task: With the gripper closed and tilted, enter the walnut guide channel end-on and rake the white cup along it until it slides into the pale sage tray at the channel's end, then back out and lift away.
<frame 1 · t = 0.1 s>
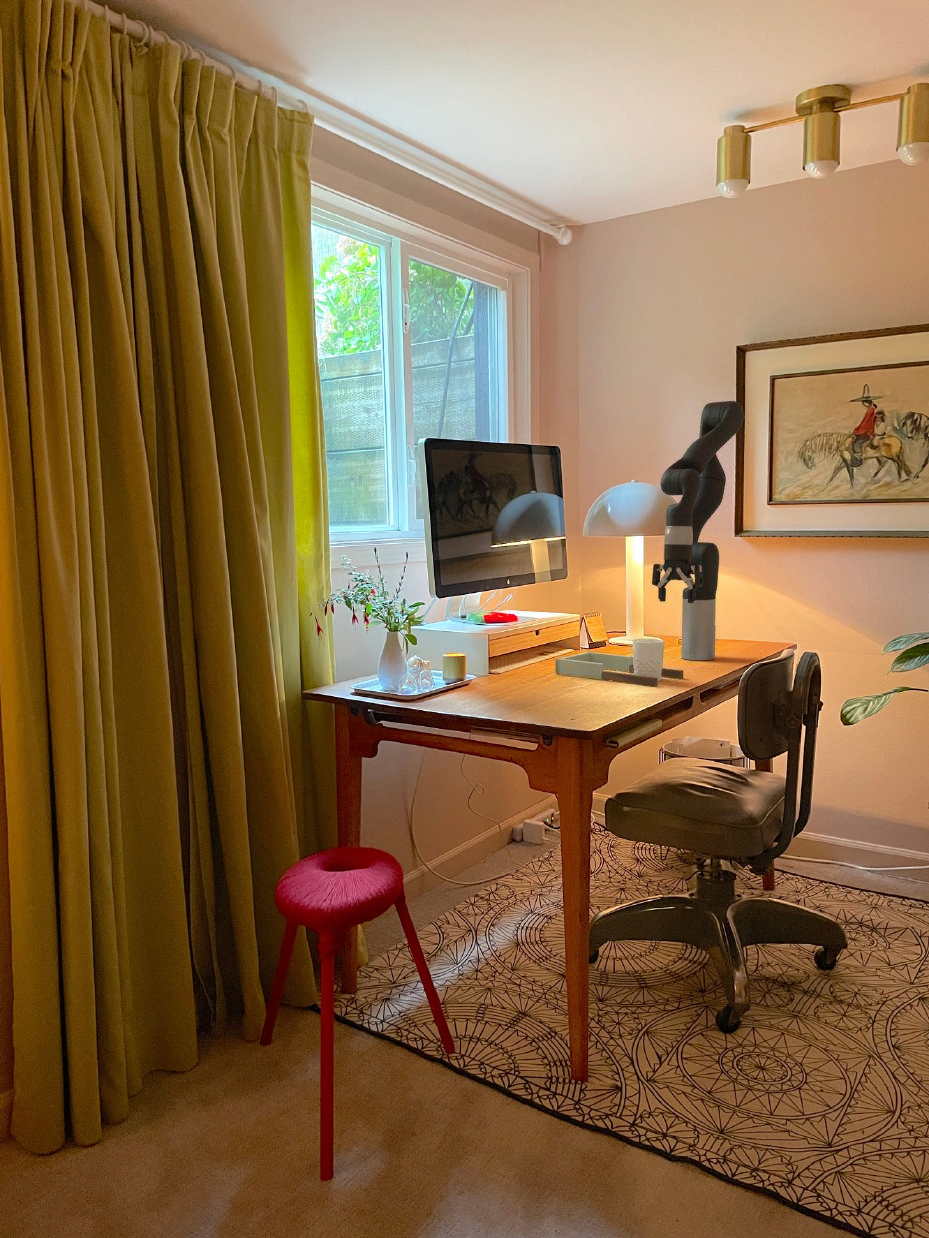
hand: (676, 602, 258), 17 cm above the table, tool pointing down, fingers open, 8 cm apart
white cup: (647, 680, 238), on the table
channel: (642, 678, 239), on the table
tray: (596, 673, 248), on the table
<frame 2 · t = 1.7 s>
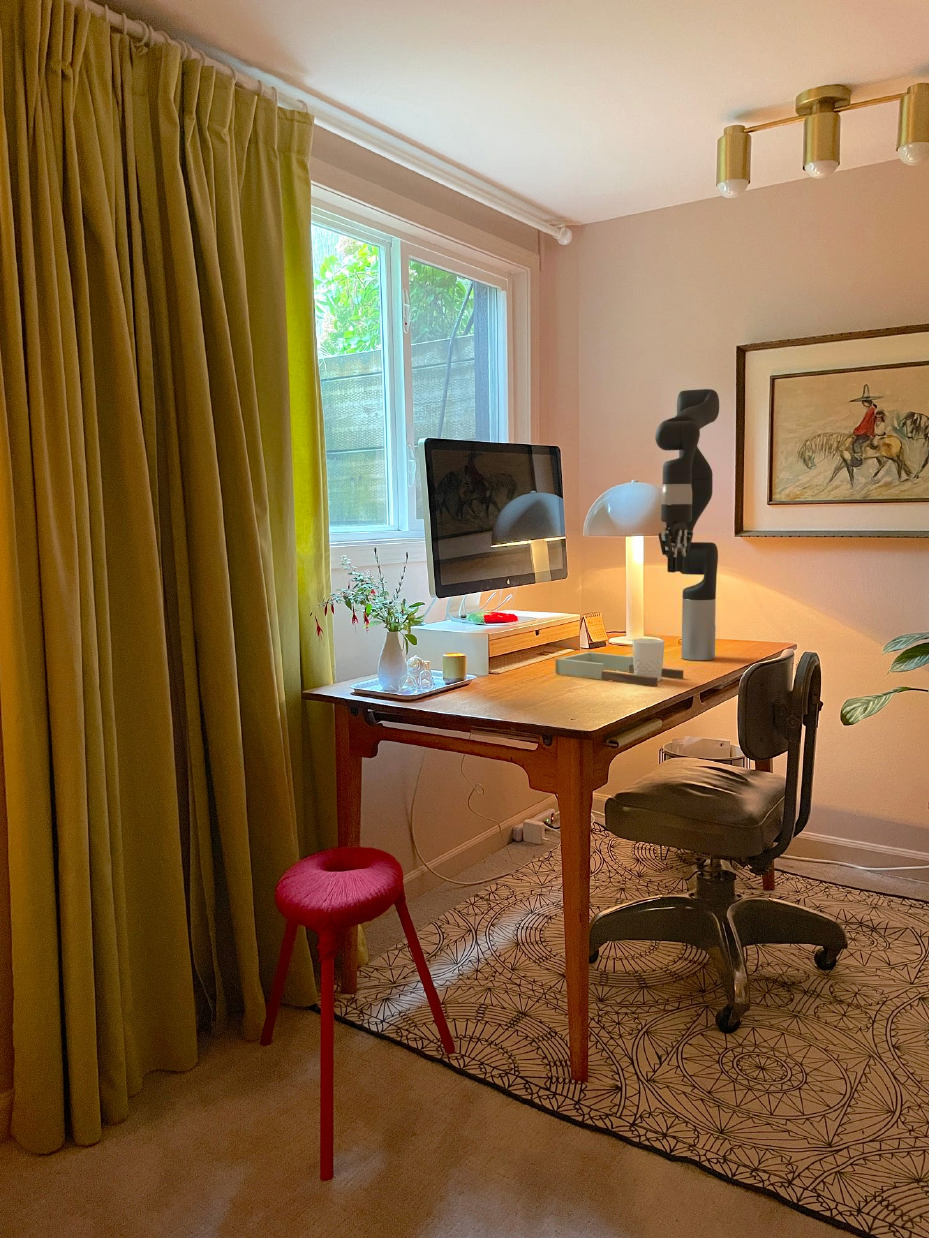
hand: (675, 571, 236), 27 cm above the table, tool pointing down, fingers open, 3 cm apart
nothing on the table moved.
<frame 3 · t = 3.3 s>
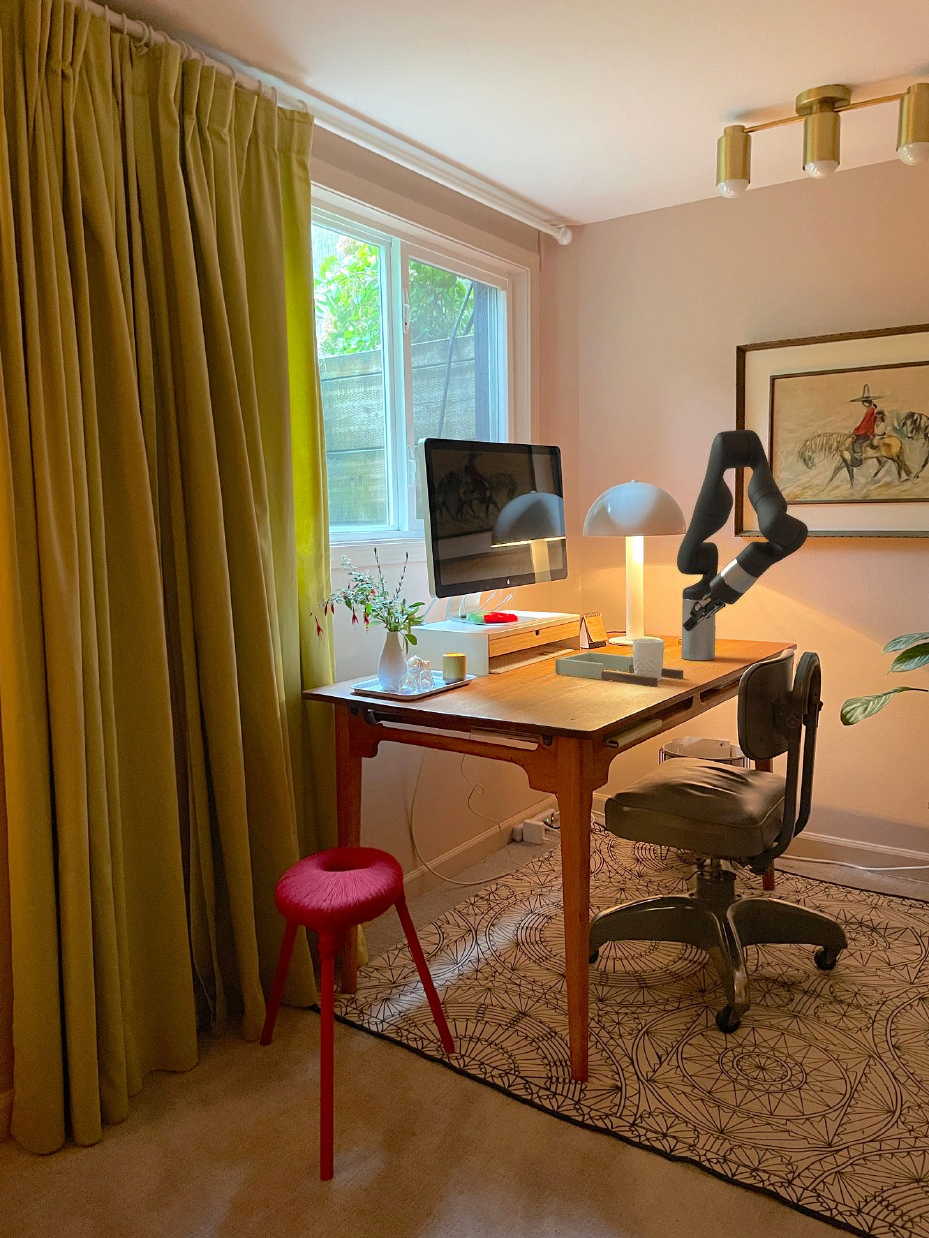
hand: (686, 628, 229), 14 cm above the table, tool tilted 45°, fingers closed
nothing on the table moved.
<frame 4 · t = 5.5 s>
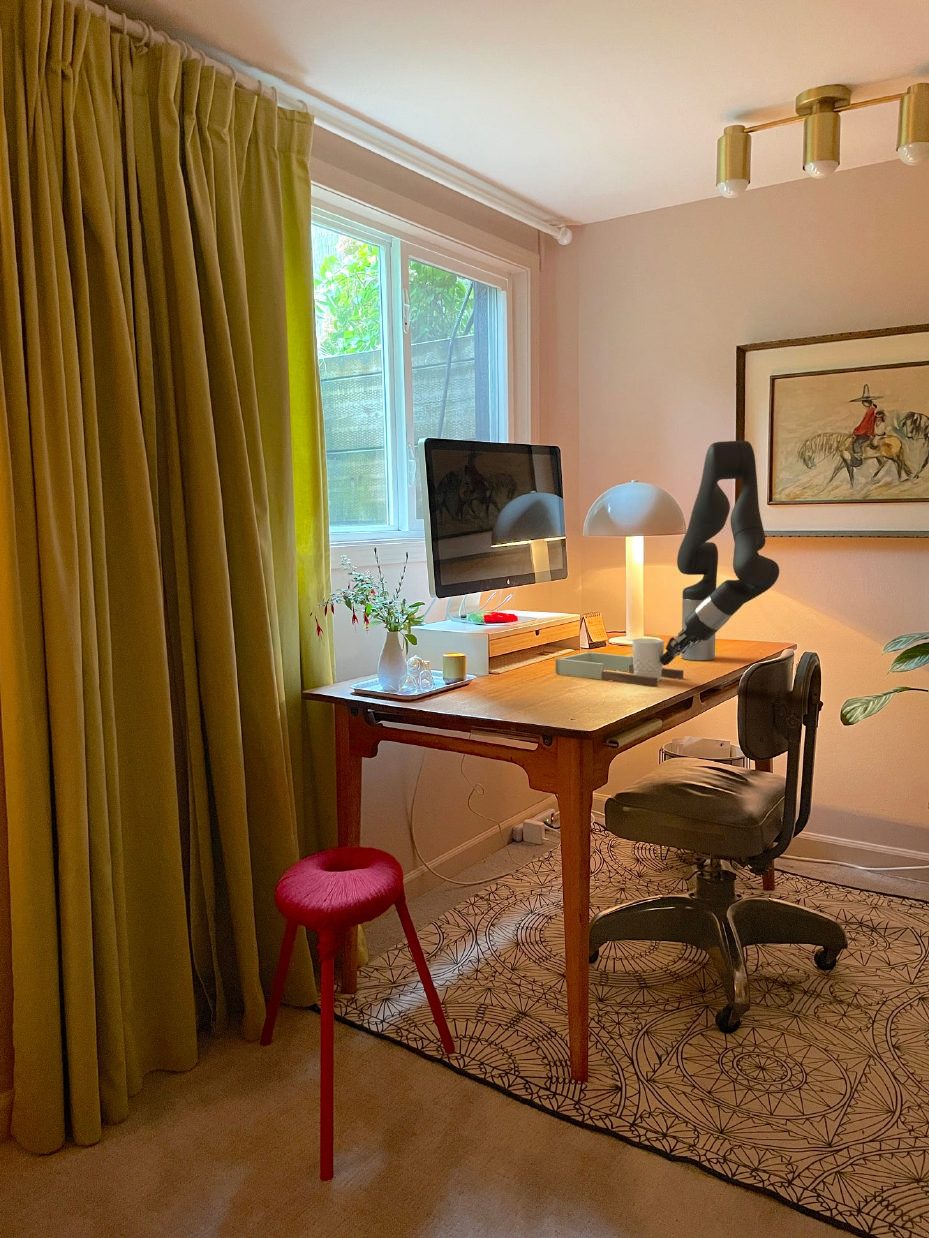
hand: (662, 662, 235), 5 cm above the table, tool tilted 45°, fingers closed
white cup: (647, 680, 238), on the table, touching gripper
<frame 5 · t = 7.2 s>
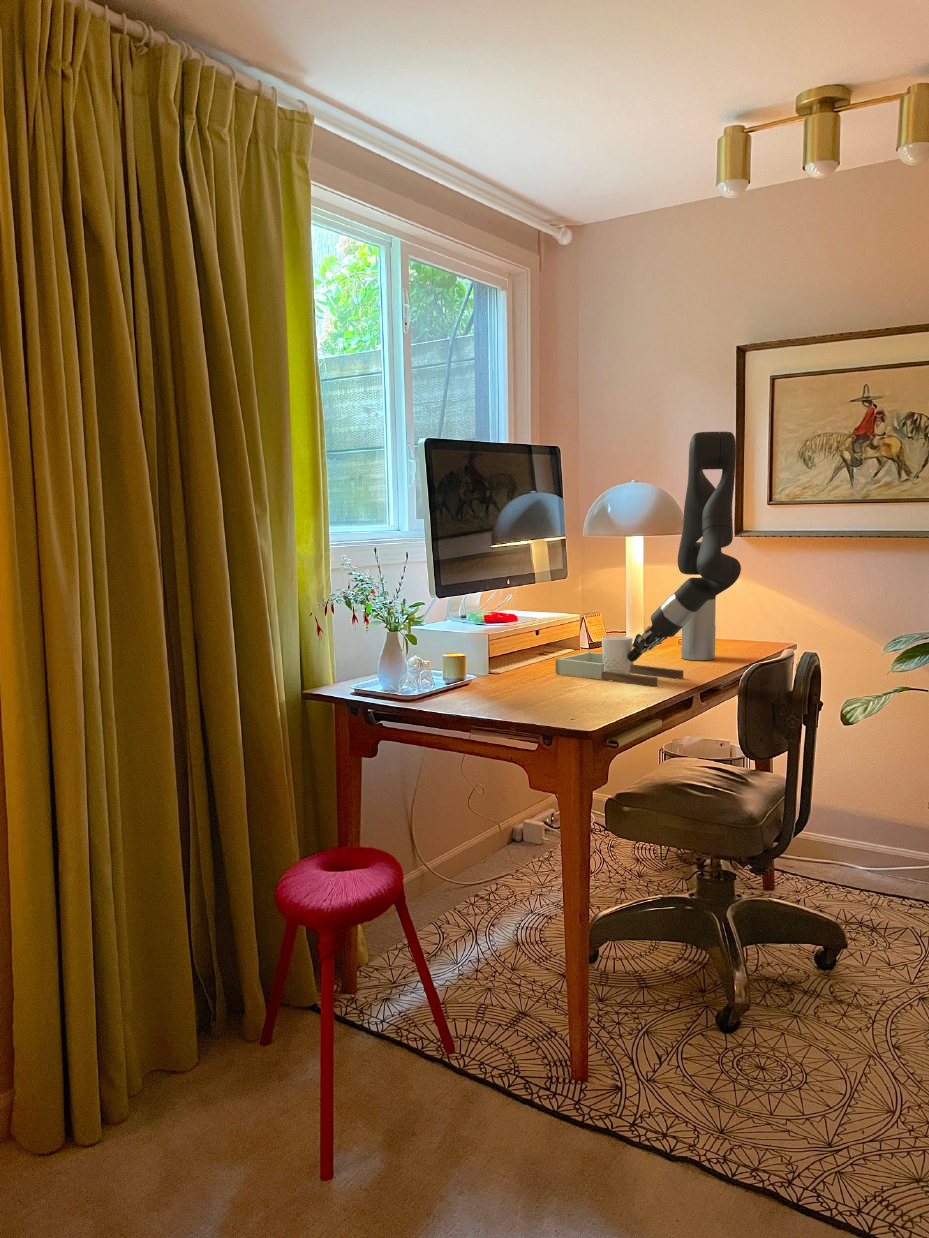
hand: (630, 658, 240), 5 cm above the table, tool tilted 45°, fingers closed
white cup: (616, 676, 244), on the table, touching gripper
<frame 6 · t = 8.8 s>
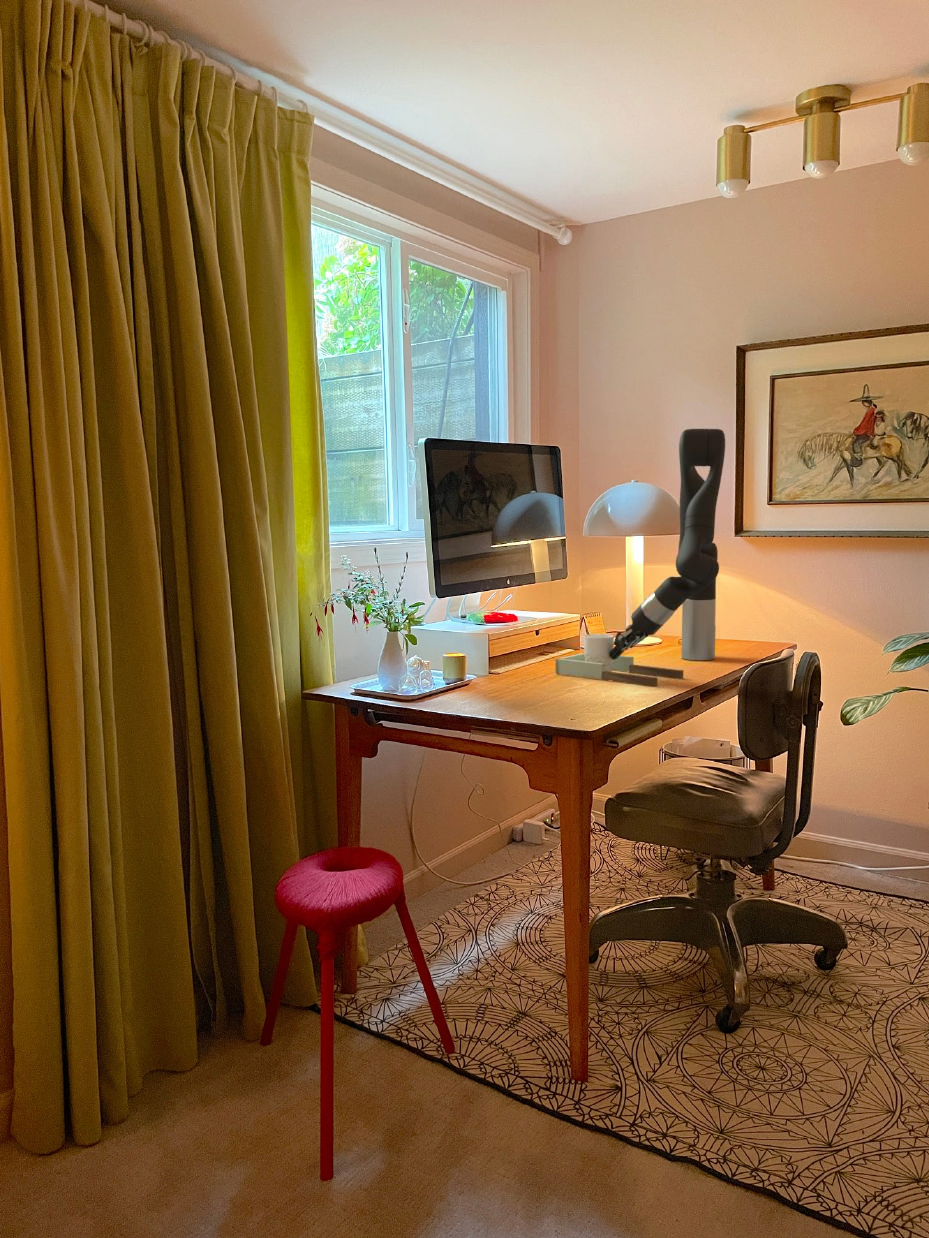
hand: (611, 656, 244), 5 cm above the table, tool tilted 45°, fingers closed
white cup: (598, 674, 247), on the table, touching gripper
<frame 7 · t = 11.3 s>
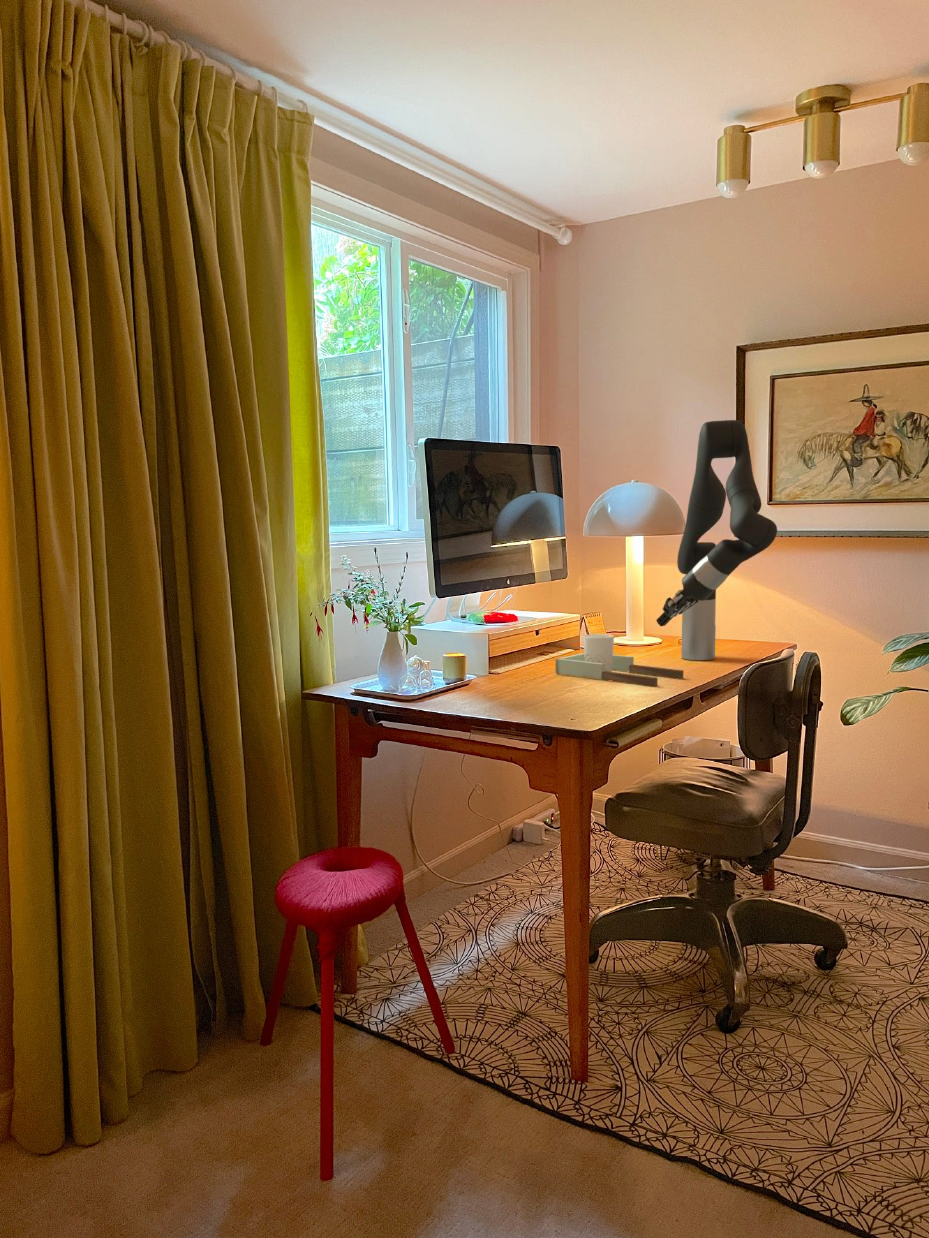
hand: (659, 623, 234), 14 cm above the table, tool tilted 45°, fingers closed
white cup: (598, 674, 247), on the table
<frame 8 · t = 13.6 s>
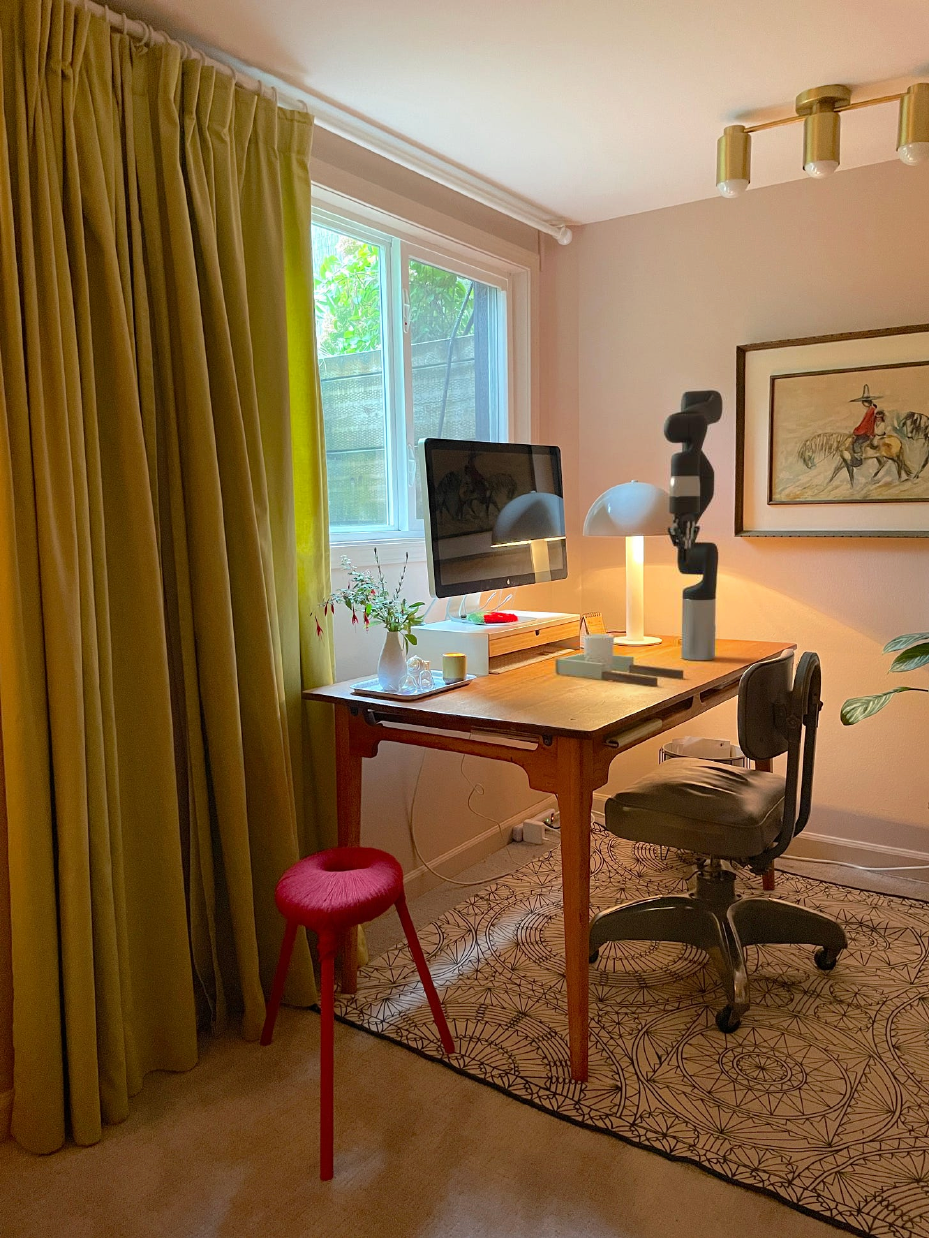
hand: (683, 563, 239), 29 cm above the table, tool pointing down, fingers closed
nothing on the table moved.
at the end: white cup inside the target area (1.1 cm from its centre), on the table; white cup tilted 0°; white cup moved 14.7 cm from its start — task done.
